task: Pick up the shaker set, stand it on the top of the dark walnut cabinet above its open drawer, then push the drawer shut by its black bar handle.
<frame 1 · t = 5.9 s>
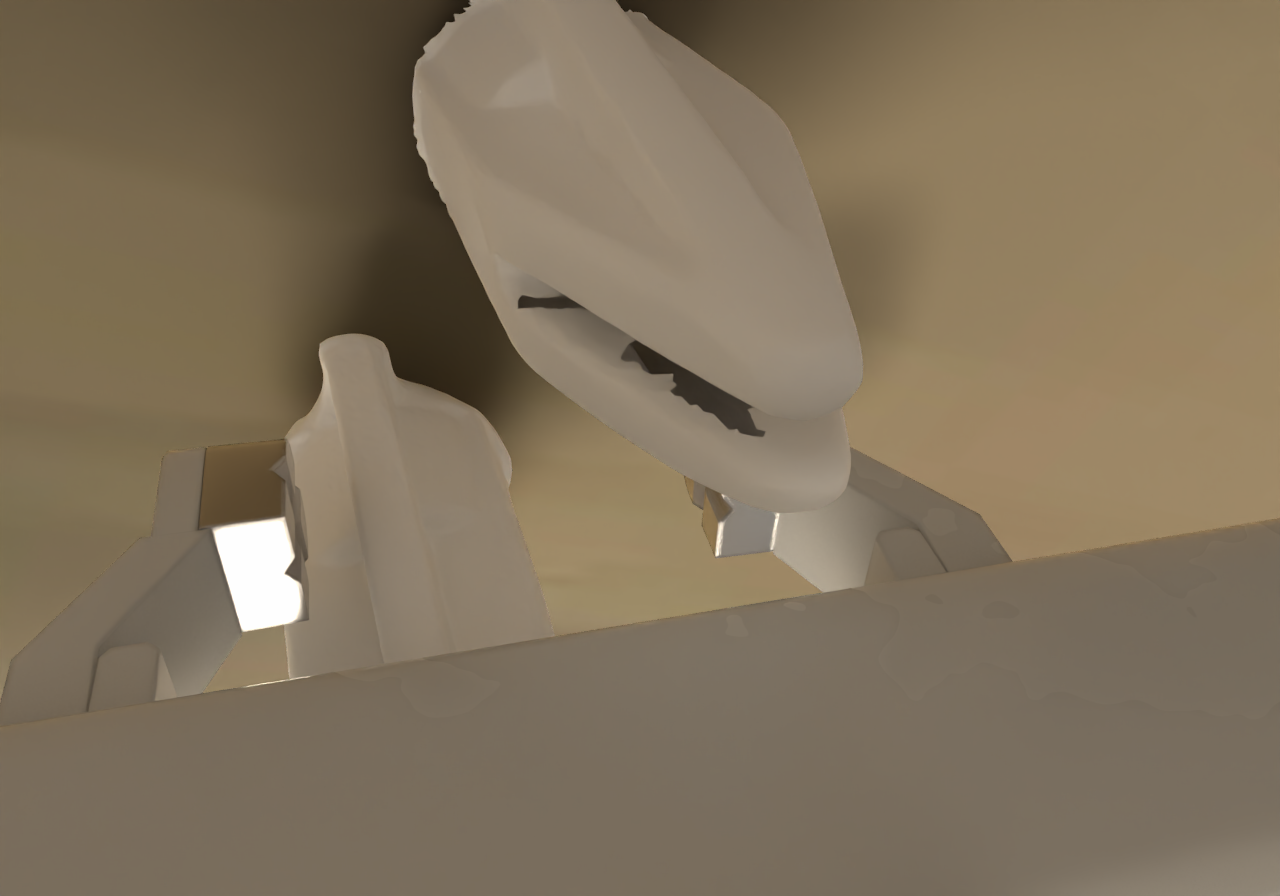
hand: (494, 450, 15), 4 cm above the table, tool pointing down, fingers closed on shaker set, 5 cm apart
shaker set: (457, 282, 18), on the table, touching gripper
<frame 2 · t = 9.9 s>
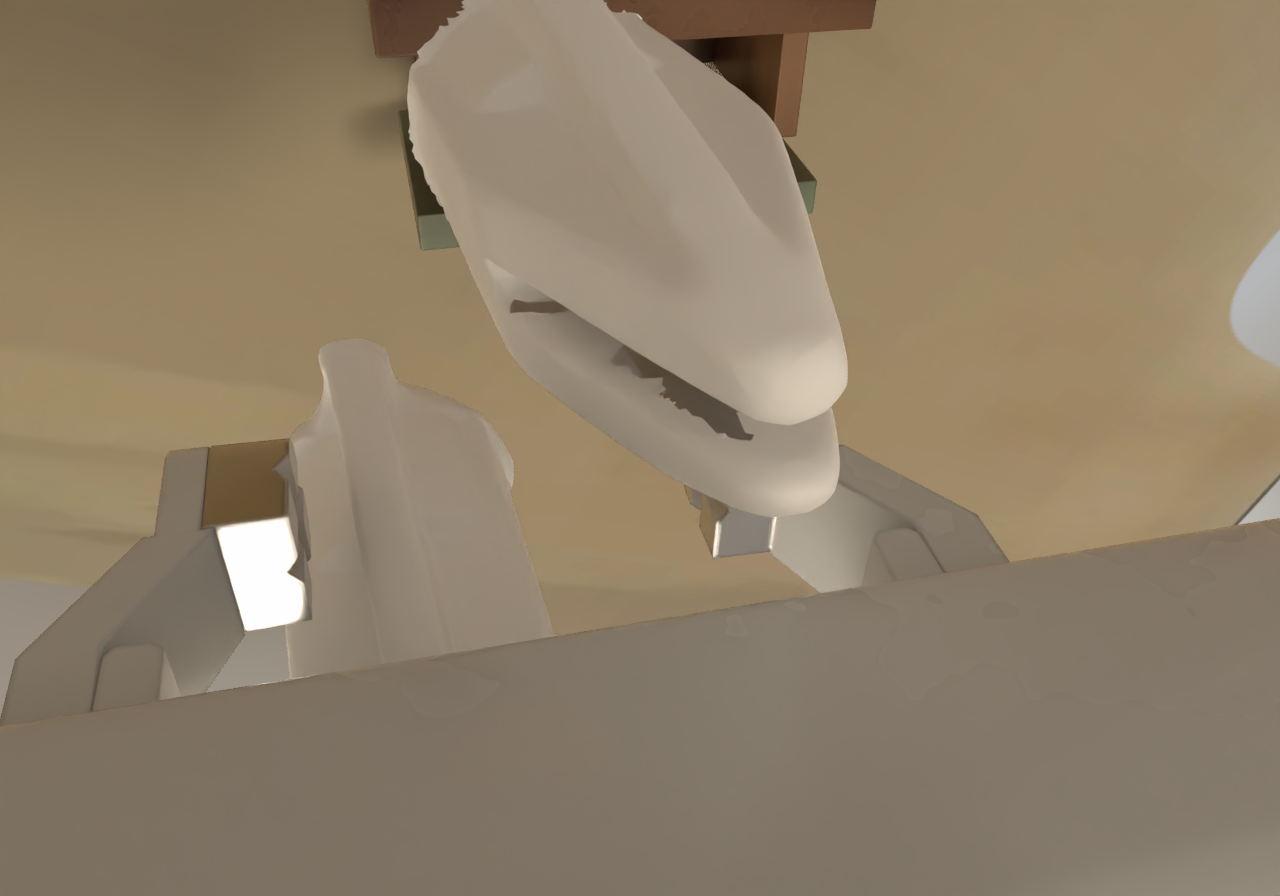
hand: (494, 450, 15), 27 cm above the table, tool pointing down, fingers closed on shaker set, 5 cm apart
drawer: (598, 24, 34), point 5 cm above the table, slide at 5.0 cm
shaker set: (457, 285, 18), point 23 cm above the table, touching gripper
when the fingers open (14 cm above the table, at t = 14.1 s): shaker set stays where it is, resting on cabinet.
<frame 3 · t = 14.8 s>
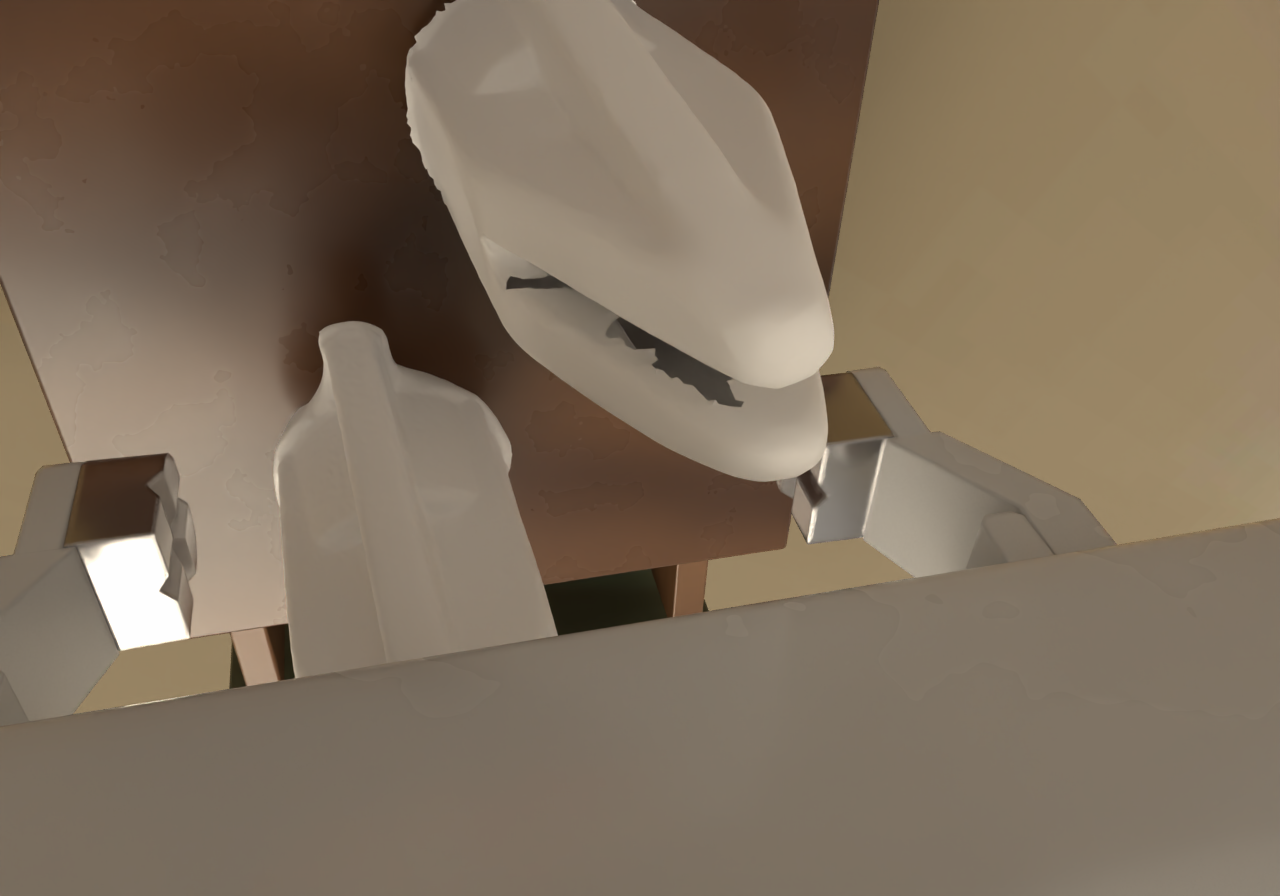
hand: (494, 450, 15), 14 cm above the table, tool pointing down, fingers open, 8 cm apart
drawer: (460, 485, 28), point 5 cm above the table, slide at 5.0 cm
cabinet: (410, 62, 26), on the table
shaker set: (455, 269, 18), point 10 cm above the table, touching cabinet
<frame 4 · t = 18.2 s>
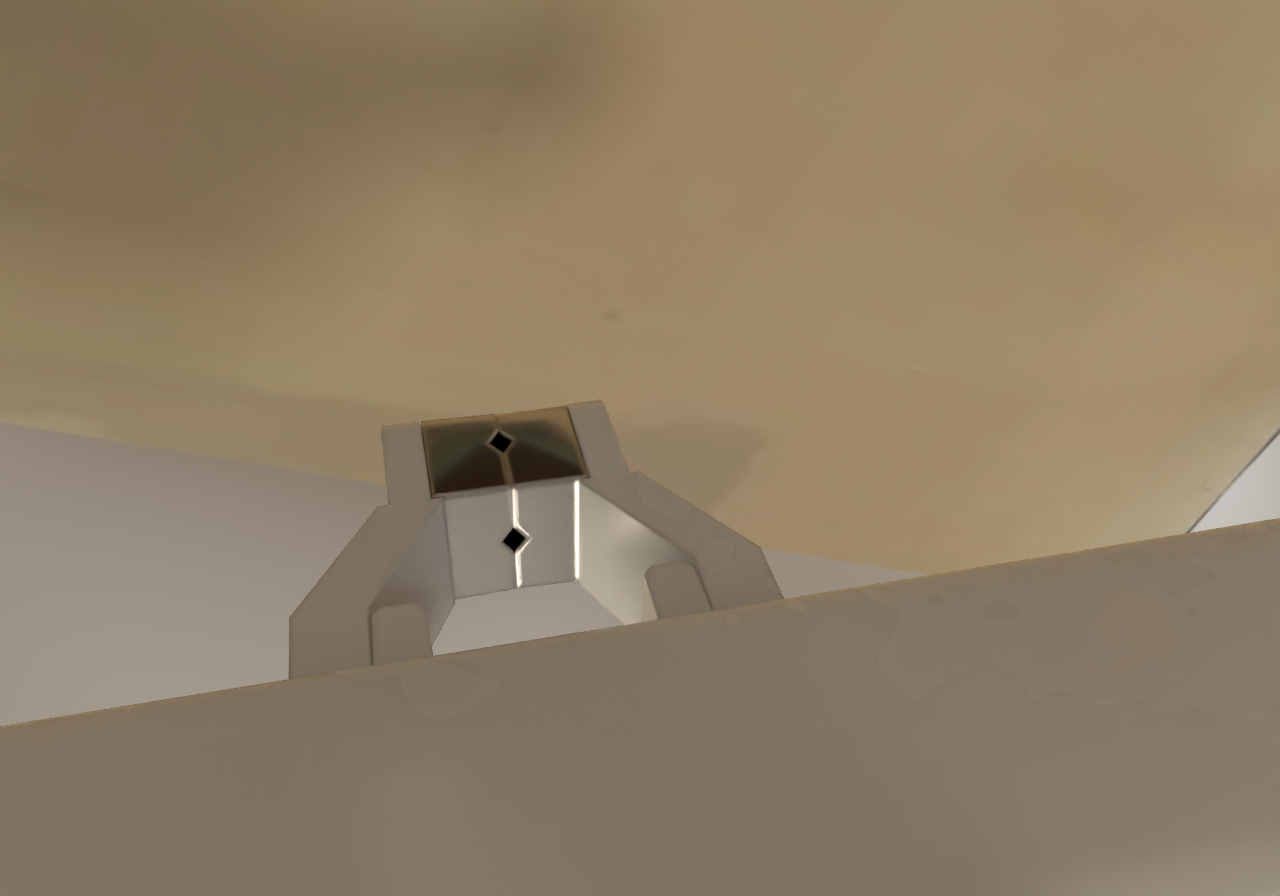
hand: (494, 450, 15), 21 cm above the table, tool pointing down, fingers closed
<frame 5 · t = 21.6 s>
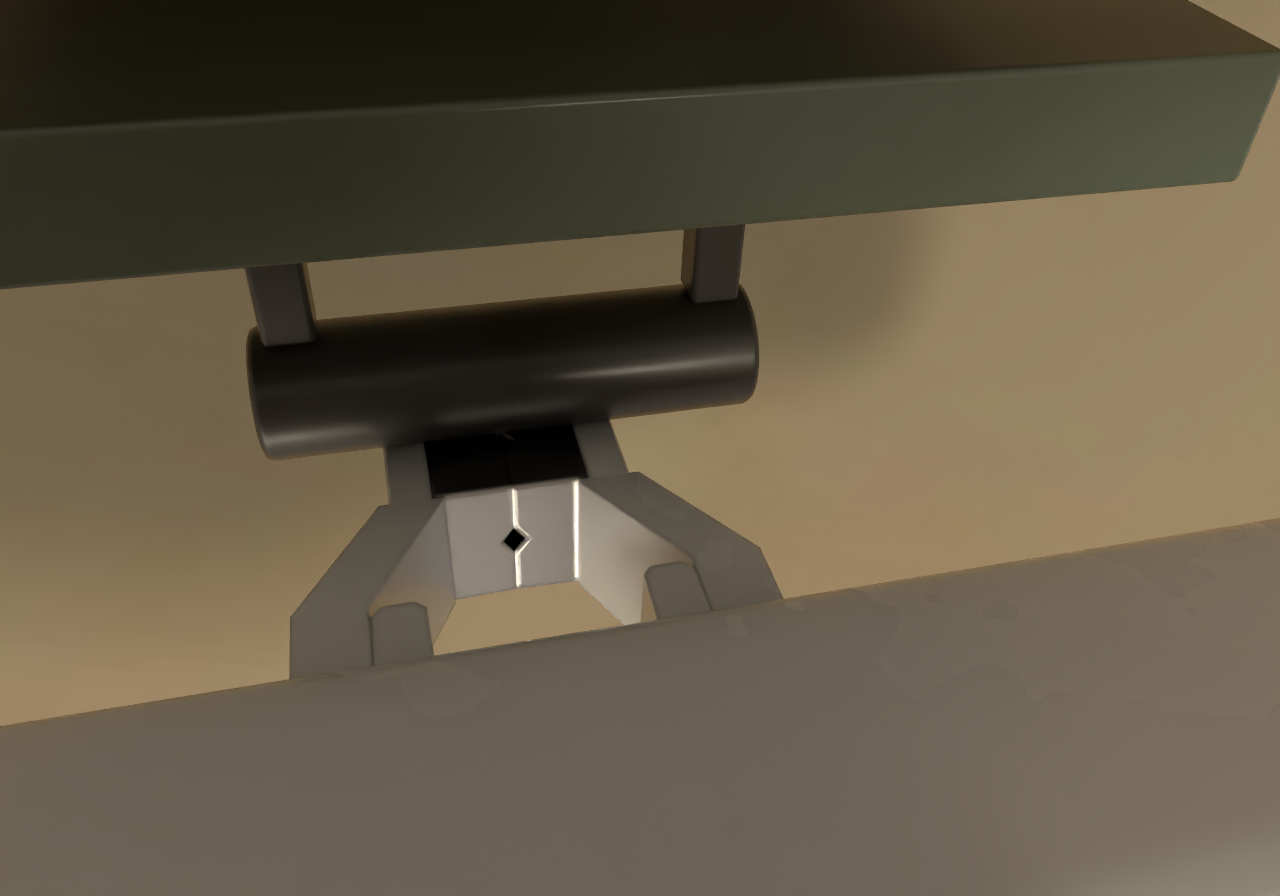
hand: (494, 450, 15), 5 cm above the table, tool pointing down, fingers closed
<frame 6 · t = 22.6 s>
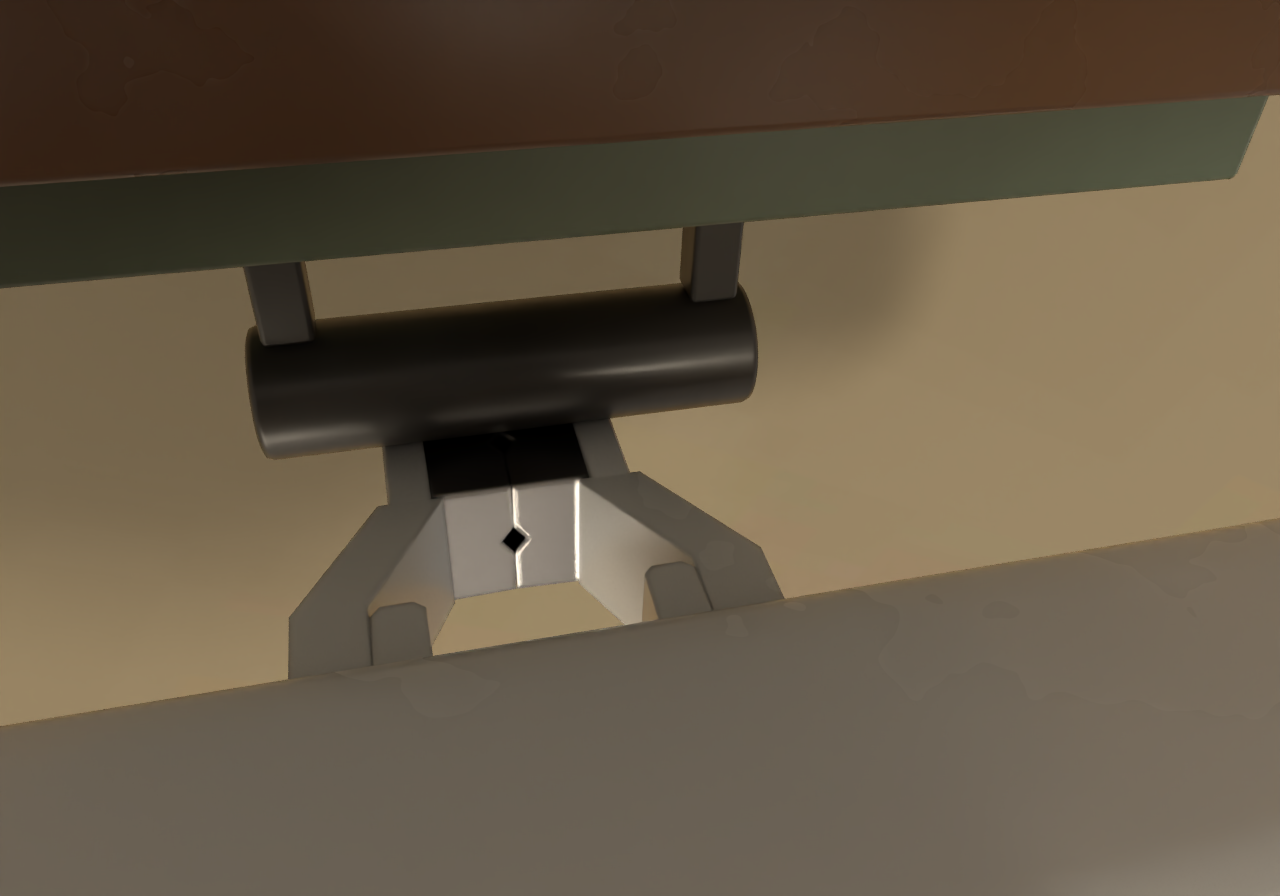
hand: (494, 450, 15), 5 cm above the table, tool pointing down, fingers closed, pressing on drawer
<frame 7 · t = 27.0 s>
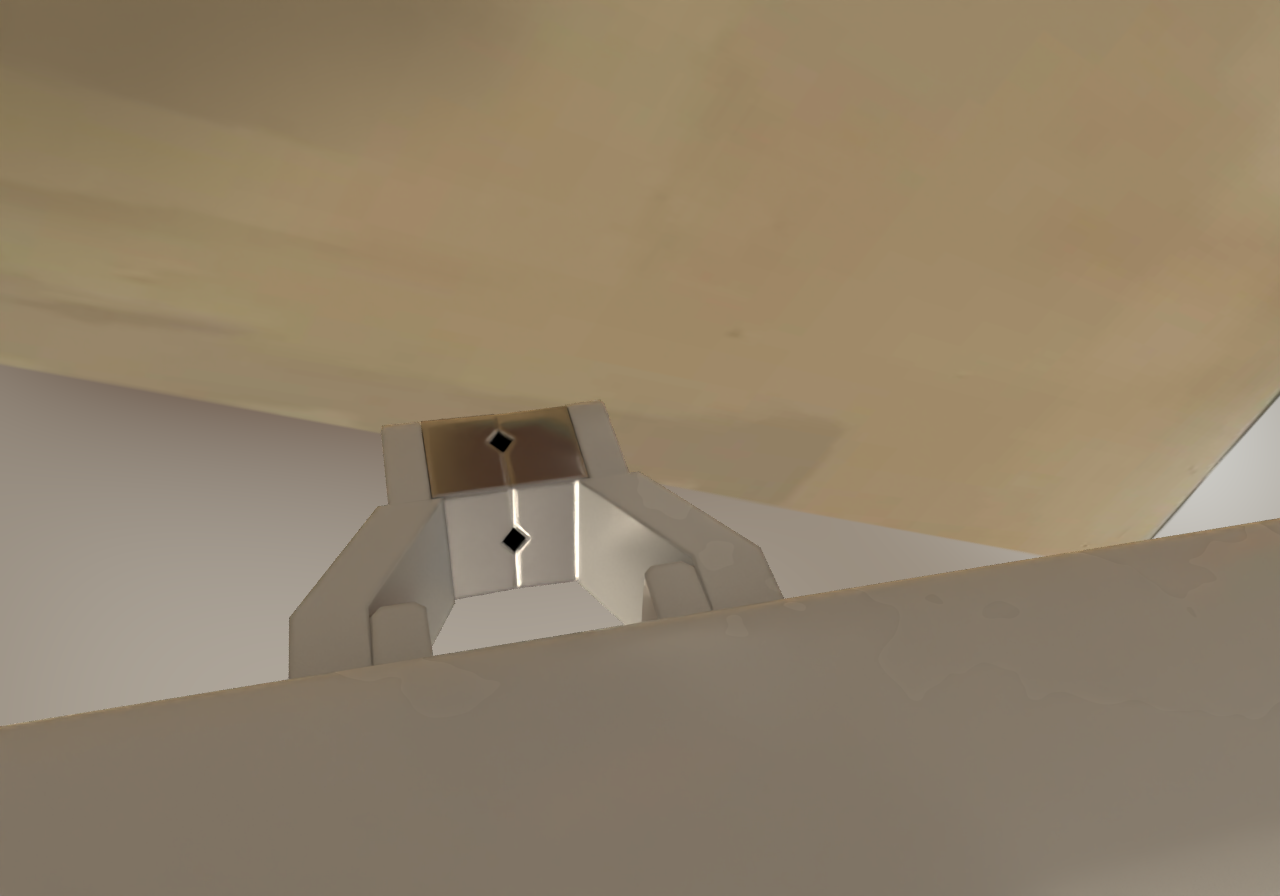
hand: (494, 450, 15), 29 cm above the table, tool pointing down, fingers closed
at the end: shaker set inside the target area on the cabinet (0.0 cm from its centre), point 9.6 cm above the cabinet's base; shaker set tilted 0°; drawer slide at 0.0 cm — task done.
